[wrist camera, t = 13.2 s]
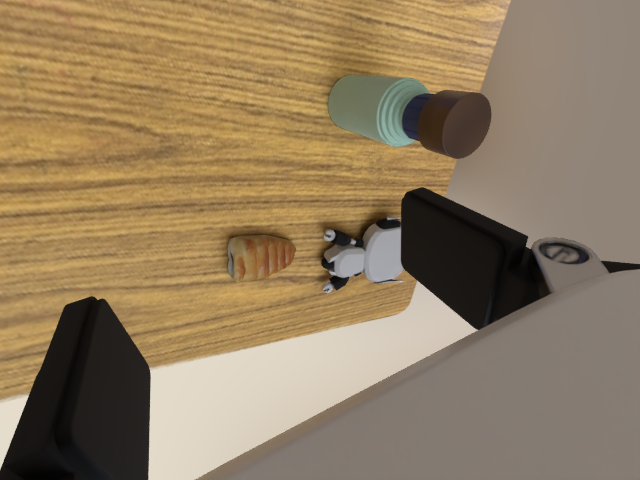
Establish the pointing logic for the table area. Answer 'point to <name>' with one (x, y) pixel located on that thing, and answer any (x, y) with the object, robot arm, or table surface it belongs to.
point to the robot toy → (364, 254)
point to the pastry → (258, 256)
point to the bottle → (373, 106)
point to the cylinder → (454, 123)
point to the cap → (414, 115)
